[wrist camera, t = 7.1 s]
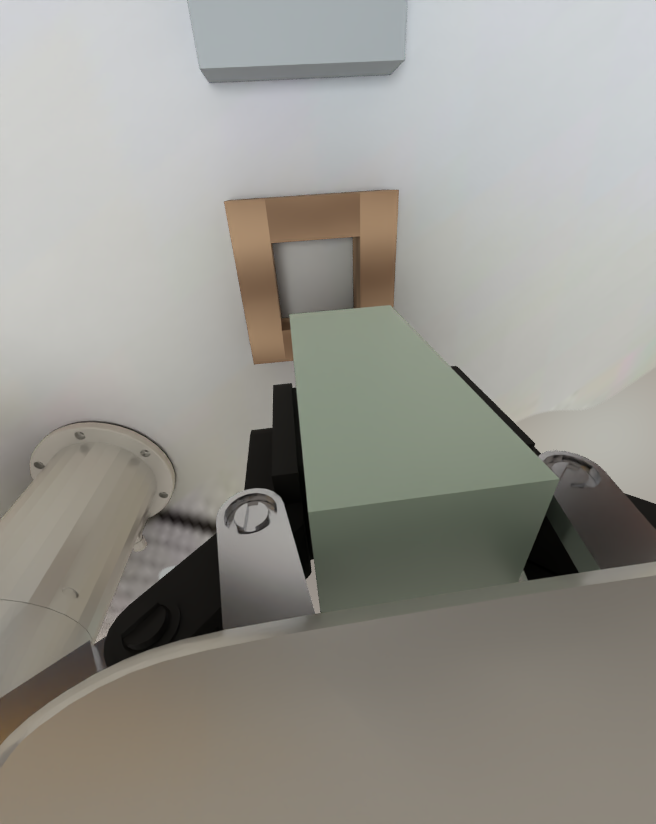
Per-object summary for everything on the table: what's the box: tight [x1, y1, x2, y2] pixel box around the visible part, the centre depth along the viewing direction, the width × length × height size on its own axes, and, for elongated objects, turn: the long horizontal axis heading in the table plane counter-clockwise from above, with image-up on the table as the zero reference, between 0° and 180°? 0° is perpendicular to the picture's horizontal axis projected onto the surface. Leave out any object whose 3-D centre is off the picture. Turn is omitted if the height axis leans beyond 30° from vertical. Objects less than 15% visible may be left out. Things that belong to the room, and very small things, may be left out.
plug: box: [289, 305, 560, 613], centre depth 11 cm, size 4×4×10 cm
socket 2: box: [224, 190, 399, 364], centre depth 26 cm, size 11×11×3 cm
